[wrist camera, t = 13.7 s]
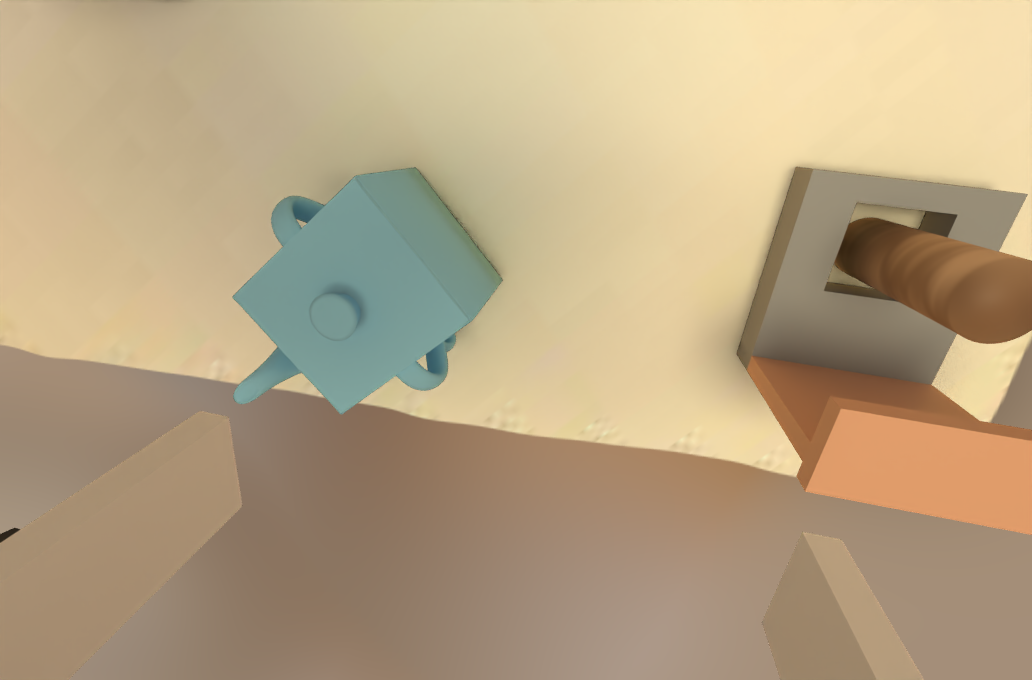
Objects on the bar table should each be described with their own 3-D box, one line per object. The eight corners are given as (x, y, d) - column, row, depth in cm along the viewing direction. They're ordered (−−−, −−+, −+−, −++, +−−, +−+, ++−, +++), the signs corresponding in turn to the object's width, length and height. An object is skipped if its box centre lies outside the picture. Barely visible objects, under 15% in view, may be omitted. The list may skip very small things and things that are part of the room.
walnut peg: (844, 213, 33) (974, 252, 21) (906, 222, 33) (1076, 266, 21) (823, 270, 35) (933, 335, 23) (882, 279, 34) (1027, 350, 22)
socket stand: (791, 166, 33) (937, 185, 18) (996, 190, 31) (1332, 231, 17) (730, 360, 38) (805, 491, 24) (900, 388, 37) (1089, 545, 22)
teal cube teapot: (401, 137, 36) (302, 135, 25) (526, 300, 39) (491, 367, 28) (261, 273, 43) (130, 323, 31) (378, 403, 46) (299, 494, 34)
